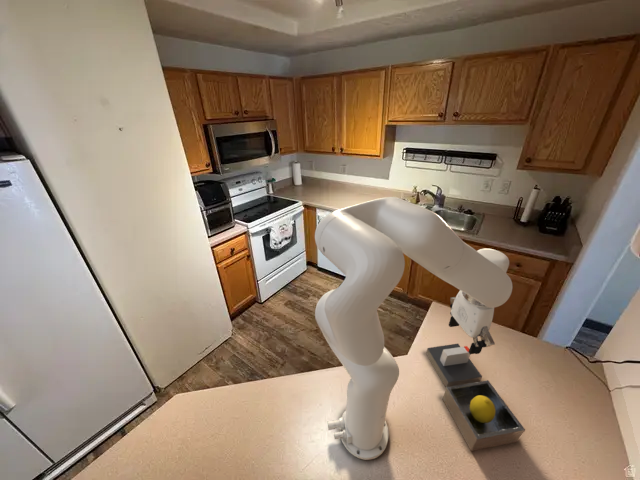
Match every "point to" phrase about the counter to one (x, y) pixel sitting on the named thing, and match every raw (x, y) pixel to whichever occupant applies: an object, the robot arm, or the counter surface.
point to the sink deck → (453, 368)
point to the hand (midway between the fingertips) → (463, 338)
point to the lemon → (482, 409)
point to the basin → (478, 433)
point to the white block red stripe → (455, 356)
